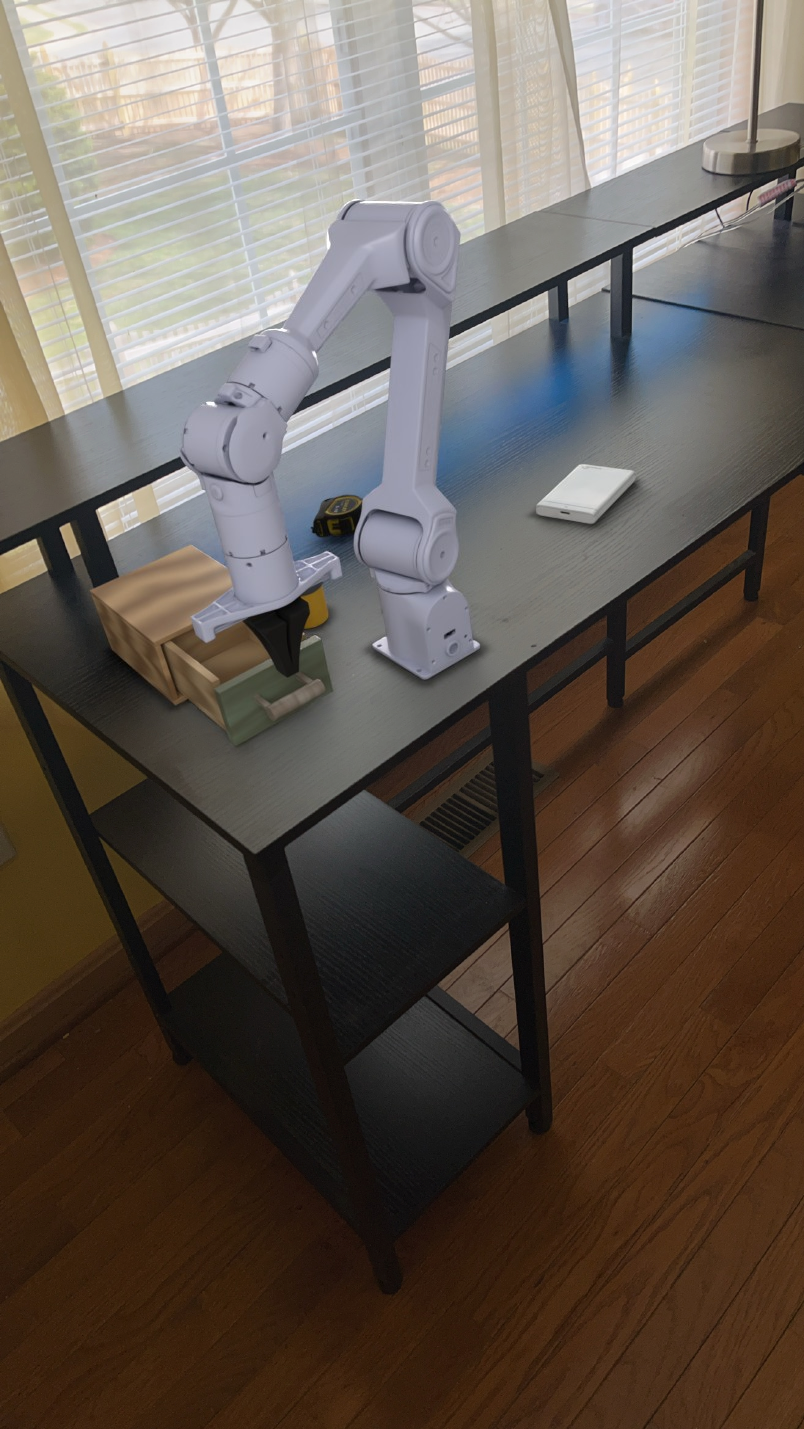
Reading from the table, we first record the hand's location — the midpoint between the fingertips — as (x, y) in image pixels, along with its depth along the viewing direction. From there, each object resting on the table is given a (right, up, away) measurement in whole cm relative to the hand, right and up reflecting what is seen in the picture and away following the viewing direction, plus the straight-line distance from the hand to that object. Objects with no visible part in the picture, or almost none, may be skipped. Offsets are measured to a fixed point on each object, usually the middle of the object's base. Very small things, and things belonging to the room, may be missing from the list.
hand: (287, 670), depth 97 cm
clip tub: (0, +7, +24) cm, 25 cm away
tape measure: (+2, +20, +41) cm, 46 cm away
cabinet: (-13, +3, +22) cm, 26 cm away
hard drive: (+35, +24, +38) cm, 57 cm away
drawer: (-4, -2, +12) cm, 13 cm away
